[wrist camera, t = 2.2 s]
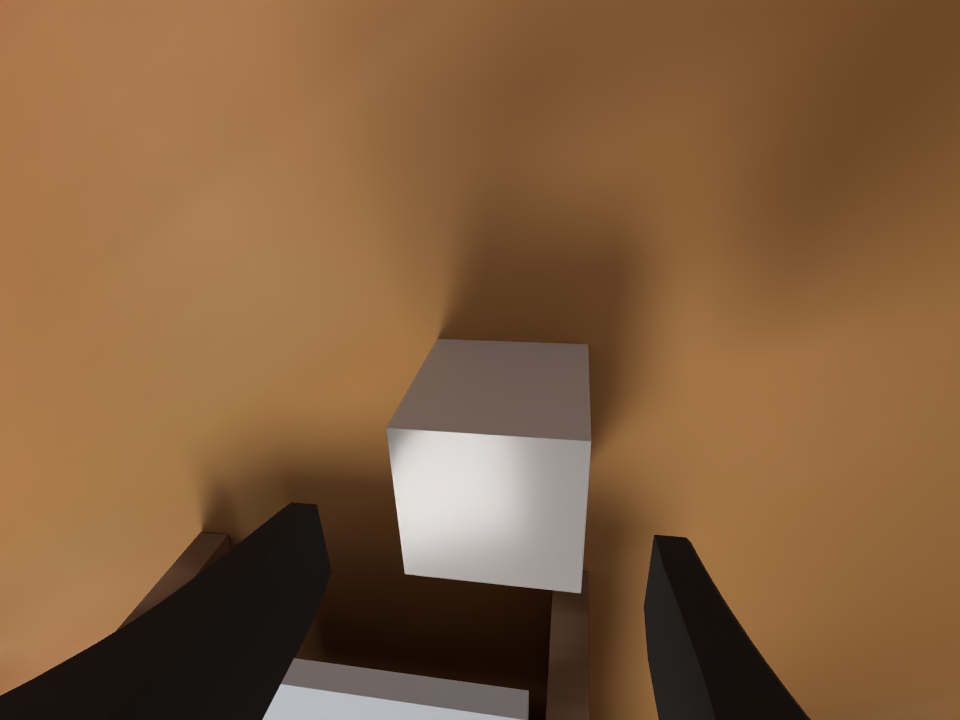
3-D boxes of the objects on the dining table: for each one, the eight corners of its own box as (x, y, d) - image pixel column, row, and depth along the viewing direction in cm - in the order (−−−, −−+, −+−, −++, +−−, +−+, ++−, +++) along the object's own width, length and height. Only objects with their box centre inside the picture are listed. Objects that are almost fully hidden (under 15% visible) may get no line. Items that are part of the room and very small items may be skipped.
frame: (587, 571, 20) (590, 730, 15) (573, 762, 25) (571, 925, 20) (200, 532, 22) (93, 656, 17) (262, 713, 27) (193, 848, 23)
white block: (588, 343, 16) (591, 441, 11) (580, 468, 18) (580, 593, 13) (437, 337, 17) (386, 427, 12) (446, 458, 19) (404, 574, 14)
